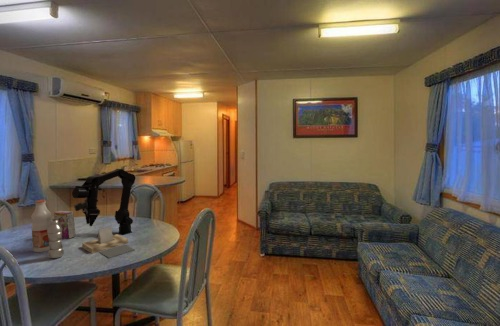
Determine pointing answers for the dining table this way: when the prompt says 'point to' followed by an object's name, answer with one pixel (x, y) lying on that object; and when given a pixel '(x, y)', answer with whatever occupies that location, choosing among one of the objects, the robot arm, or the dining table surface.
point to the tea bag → (105, 235)
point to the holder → (104, 244)
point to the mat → (117, 251)
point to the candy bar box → (66, 223)
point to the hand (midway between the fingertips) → (89, 225)
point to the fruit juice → (40, 226)
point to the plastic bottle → (55, 239)
